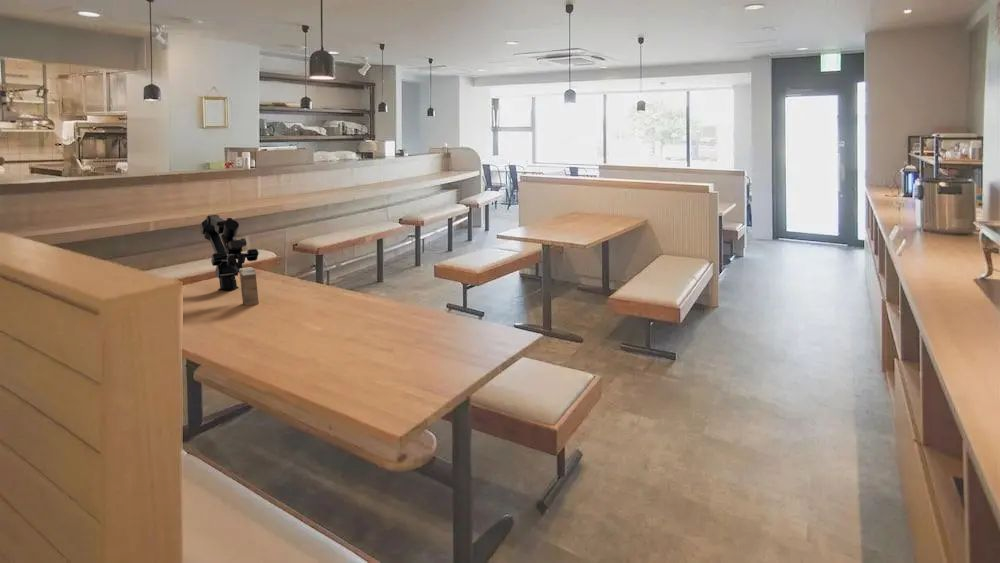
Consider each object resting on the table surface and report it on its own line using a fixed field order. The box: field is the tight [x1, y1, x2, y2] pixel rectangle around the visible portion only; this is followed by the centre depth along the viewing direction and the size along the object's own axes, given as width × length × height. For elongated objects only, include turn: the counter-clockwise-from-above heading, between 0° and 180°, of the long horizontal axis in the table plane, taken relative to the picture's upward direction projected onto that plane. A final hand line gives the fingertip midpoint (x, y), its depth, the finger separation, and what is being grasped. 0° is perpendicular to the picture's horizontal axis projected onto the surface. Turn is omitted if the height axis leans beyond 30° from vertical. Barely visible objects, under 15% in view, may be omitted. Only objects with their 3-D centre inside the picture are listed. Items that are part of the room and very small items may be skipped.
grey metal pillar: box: [238, 266, 259, 307], centre depth 262 cm, size 5×5×15 cm
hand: (240, 272), depth 269 cm, fingers closed
